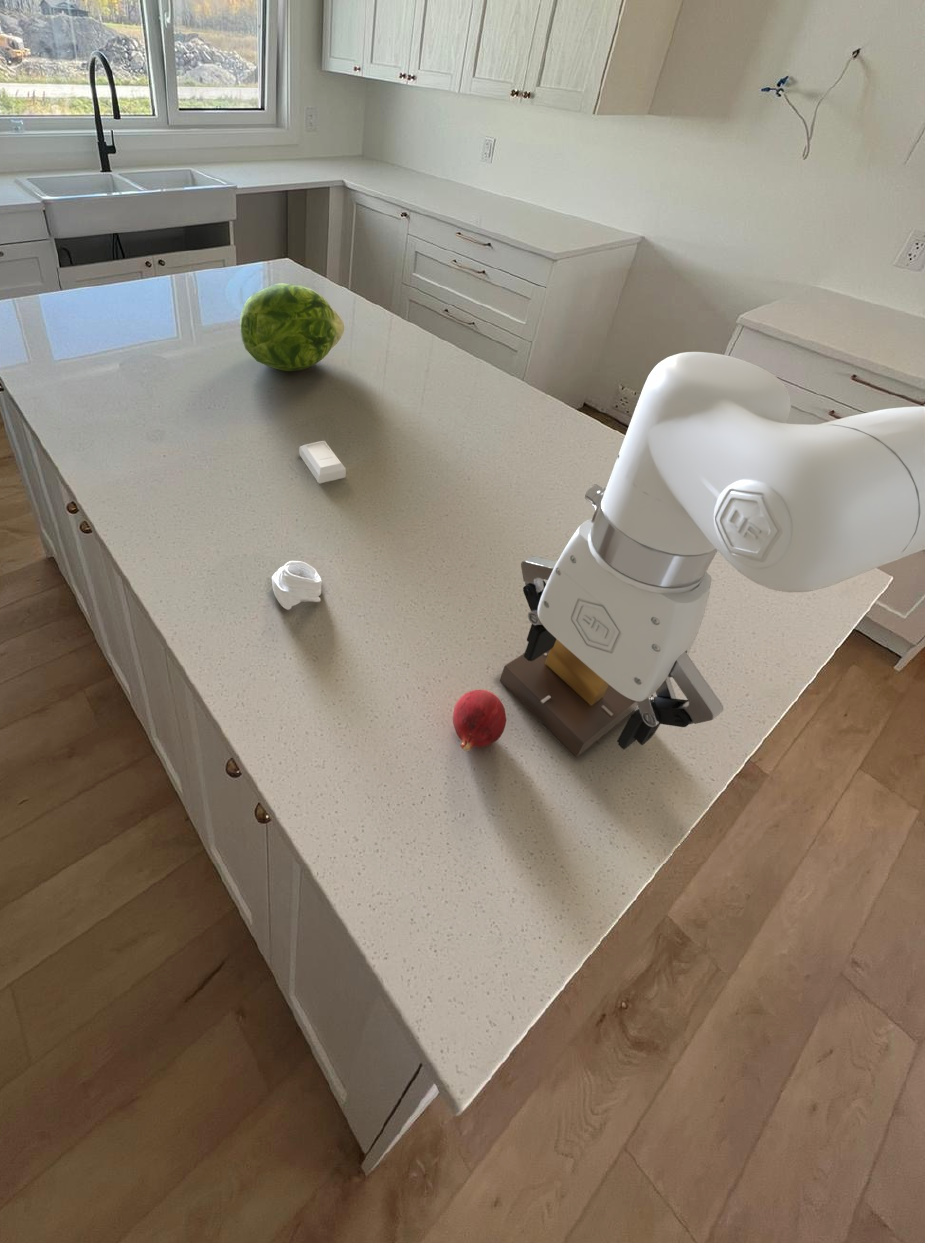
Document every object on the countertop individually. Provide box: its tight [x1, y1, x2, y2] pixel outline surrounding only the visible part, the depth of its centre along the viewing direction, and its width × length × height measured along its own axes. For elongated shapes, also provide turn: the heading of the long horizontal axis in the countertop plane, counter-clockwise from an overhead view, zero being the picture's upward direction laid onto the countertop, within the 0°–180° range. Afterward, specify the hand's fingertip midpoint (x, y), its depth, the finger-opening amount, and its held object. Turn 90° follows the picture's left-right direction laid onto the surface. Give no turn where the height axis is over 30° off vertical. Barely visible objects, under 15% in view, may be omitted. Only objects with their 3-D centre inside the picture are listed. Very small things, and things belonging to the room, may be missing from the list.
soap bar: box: [299, 440, 347, 484], centre depth 111 cm, size 5×9×3 cm, turn 26°
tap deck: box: [499, 650, 638, 758], centre depth 76 cm, size 12×11×3 cm
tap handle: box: [545, 639, 609, 706], centre depth 74 cm, size 7×2×5 cm, turn 36°
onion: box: [452, 688, 507, 752], centre depth 70 cm, size 6×6×8 cm
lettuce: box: [239, 282, 345, 372], centre depth 137 cm, size 19×23×18 cm
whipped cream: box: [271, 560, 323, 611], centre depth 86 cm, size 8×7×5 cm
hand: (582, 692), depth 52 cm, fingers open, 9 cm apart
